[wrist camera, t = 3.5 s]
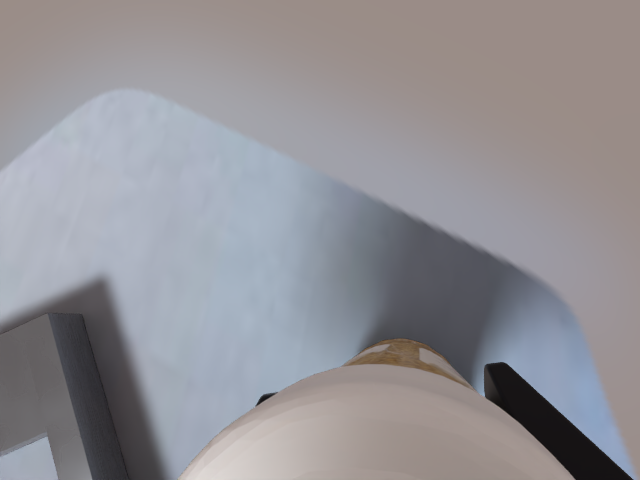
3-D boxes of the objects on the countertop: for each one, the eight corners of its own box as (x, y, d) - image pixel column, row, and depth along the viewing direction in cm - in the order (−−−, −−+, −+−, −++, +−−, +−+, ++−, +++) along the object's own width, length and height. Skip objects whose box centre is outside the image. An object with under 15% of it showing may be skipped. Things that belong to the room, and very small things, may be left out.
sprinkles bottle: (335, 343, 17) (100, 398, 4) (456, 333, 16) (636, 360, 3) (347, 471, 16) (90, 1068, 3) (477, 467, 15) (844, 1243, 2)
